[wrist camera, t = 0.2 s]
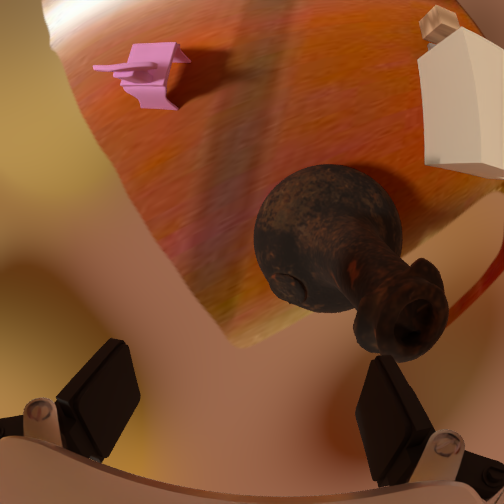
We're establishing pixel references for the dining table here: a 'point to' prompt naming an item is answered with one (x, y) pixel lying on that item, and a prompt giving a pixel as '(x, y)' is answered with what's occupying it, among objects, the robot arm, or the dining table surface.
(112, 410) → the robot arm
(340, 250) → the glass bottle
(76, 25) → the dining table surface
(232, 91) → the dining table surface
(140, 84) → the toy chair
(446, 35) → the tool
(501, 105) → the white box on stand
